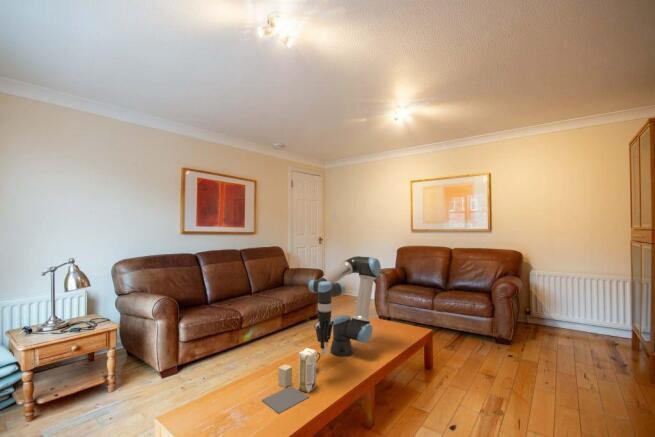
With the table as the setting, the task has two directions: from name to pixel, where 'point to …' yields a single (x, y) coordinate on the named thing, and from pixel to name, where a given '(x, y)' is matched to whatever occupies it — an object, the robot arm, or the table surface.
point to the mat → (285, 399)
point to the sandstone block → (285, 376)
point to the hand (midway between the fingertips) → (323, 353)
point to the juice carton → (307, 370)
